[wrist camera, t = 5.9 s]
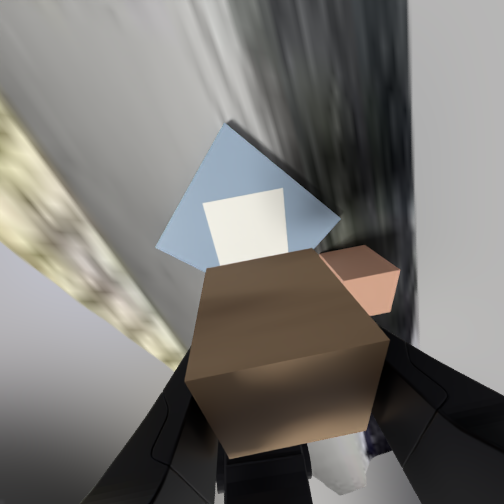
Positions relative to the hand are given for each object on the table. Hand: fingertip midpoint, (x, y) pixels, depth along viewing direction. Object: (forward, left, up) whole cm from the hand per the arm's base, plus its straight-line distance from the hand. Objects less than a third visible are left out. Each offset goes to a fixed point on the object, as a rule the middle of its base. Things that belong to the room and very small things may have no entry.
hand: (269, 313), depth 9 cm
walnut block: (0, 0, -1) cm, 1 cm away
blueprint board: (0, 0, -11) cm, 11 cm away
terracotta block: (+2, -11, -11) cm, 16 cm away
